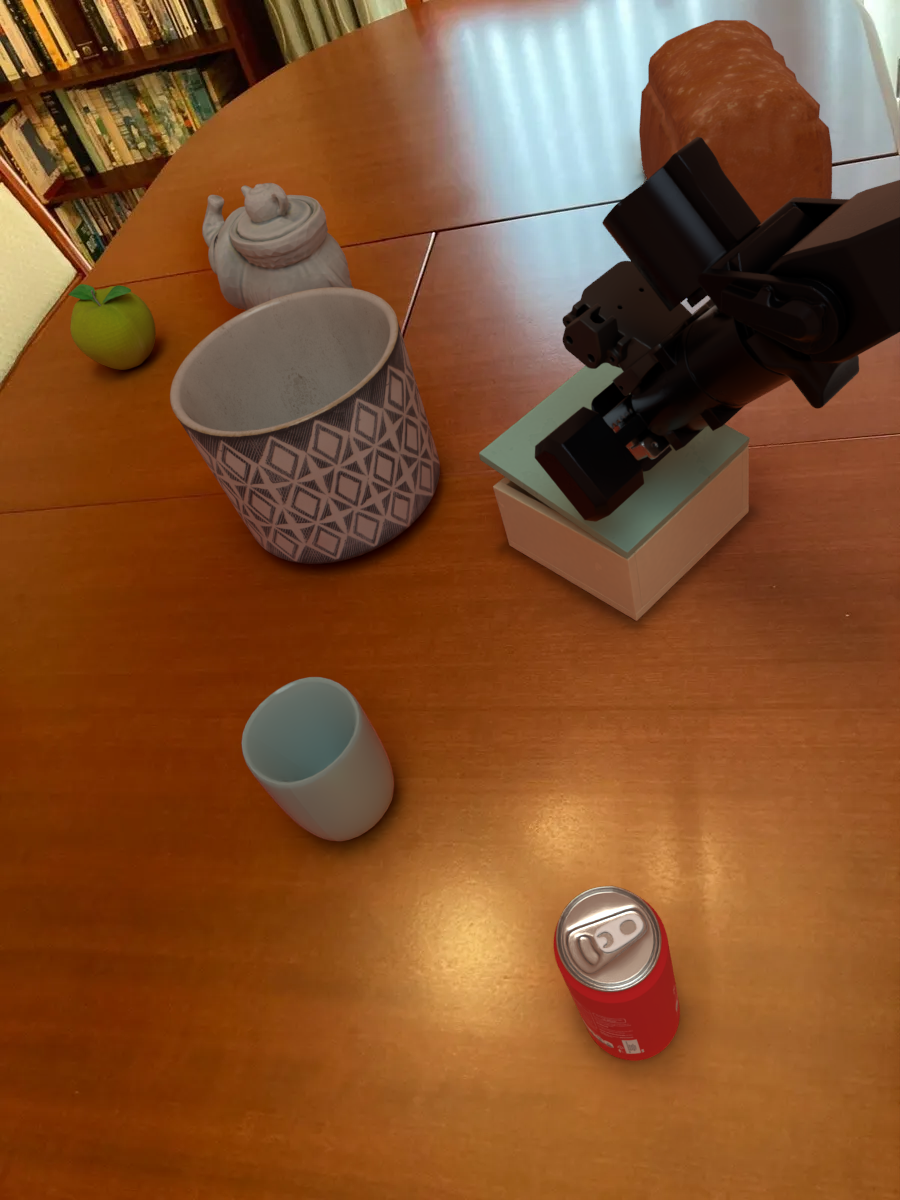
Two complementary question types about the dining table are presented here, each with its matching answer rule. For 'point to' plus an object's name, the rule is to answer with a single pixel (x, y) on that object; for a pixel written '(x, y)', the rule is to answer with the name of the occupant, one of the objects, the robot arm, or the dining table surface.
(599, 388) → the lid
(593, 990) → the beverage can
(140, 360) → the fruit
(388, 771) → the cup
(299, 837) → the dining table surface
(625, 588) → the cream square box
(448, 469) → the dining table surface
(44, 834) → the dining table surface
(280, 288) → the teapot
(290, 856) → the dining table surface
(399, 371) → the planter
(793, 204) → the robot arm
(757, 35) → the bread
